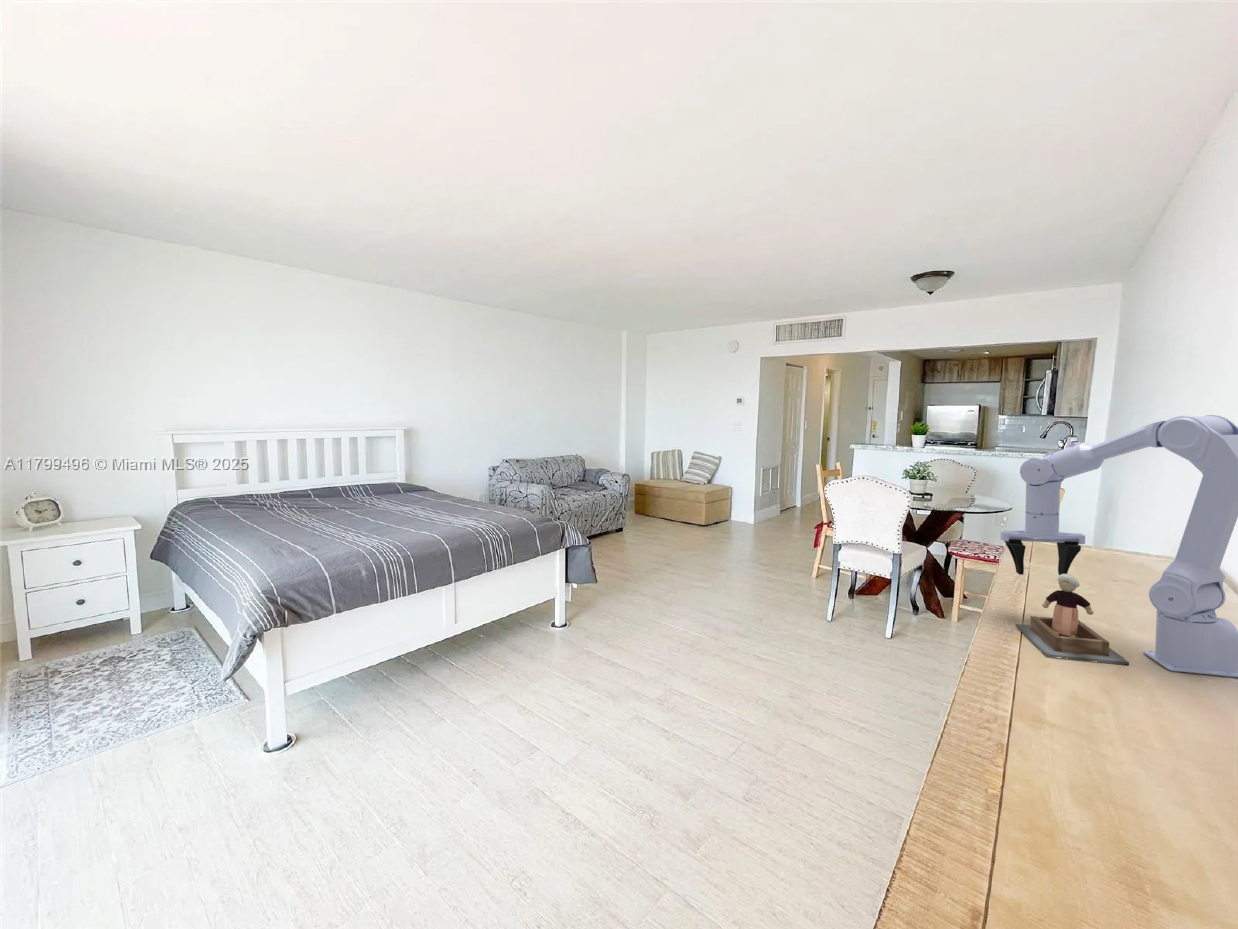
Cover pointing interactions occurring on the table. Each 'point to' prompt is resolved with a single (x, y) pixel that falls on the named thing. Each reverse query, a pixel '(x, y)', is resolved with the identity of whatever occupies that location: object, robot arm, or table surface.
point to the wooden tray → (1069, 642)
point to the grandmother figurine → (1066, 606)
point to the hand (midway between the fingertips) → (1040, 574)
